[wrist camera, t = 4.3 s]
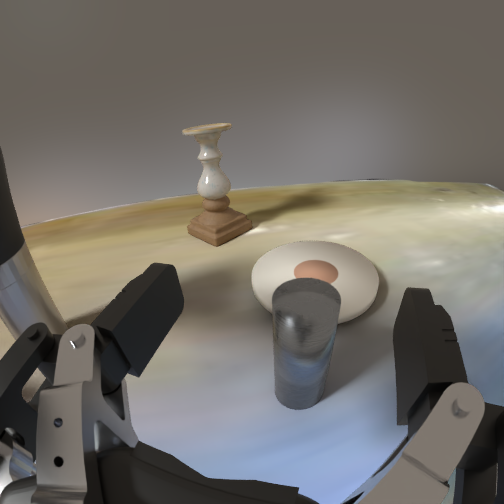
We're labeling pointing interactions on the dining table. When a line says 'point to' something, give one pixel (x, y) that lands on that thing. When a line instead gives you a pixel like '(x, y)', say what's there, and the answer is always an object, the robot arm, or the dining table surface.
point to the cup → (303, 339)
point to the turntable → (318, 273)
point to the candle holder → (214, 191)
